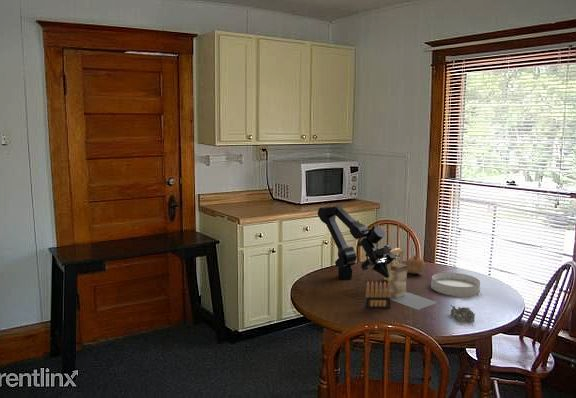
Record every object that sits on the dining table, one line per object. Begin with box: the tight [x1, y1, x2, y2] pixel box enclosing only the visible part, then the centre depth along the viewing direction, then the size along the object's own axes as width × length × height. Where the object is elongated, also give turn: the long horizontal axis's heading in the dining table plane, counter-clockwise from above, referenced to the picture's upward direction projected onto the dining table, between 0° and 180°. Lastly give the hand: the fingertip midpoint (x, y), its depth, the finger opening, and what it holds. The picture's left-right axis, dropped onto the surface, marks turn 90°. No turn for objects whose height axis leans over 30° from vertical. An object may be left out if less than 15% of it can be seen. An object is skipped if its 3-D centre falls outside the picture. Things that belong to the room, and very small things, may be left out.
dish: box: [430, 272, 481, 298], centre depth 248 cm, size 22×22×5 cm
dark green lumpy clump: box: [450, 304, 476, 324], centre depth 213 cm, size 11×8×4 cm
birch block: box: [390, 263, 408, 298], centre depth 236 cm, size 4×6×14 cm
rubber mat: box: [382, 287, 438, 311], centre depth 235 cm, size 26×14×1 cm, turn 39°
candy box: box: [383, 247, 404, 283], centre depth 260 cm, size 9×4×15 cm, turn 129°
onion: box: [405, 254, 426, 275], centre depth 270 cm, size 10×9×10 cm
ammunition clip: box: [364, 280, 391, 310], centre depth 222 cm, size 11×2×12 cm, turn 90°
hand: (387, 277), depth 241 cm, fingers closed
